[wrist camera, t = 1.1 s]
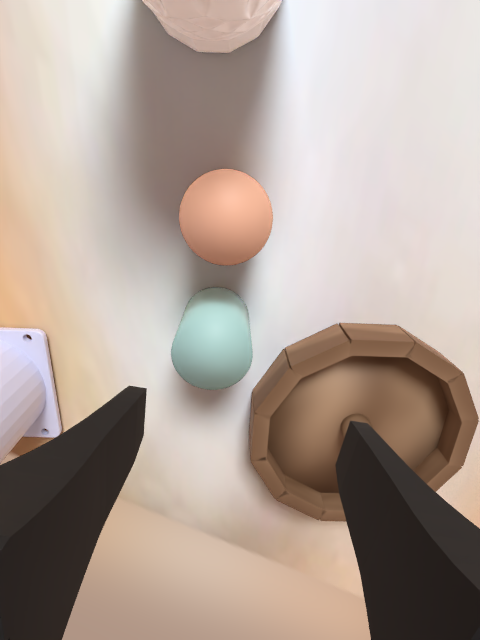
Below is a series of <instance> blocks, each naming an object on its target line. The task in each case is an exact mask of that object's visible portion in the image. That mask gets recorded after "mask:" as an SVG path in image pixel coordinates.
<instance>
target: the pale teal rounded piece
mask: <svg viewBox="0 0 480 640" xmlns="http://www.w3.org/2000/svg"><path fill="white" fill-rule="evenodd" d="M171 356H172V362H173V365H174V367H175V369H176V371H177V372H178V374H179V375H180V376H181V377H182V378H183V379H184V380H185V381H187V382H188V383H190V384H191V385H193V386H196V387H198V388H202V389H207V390H218V389H224V388H227V387H230V386H232V385H234V384H236V383H237V382H238V381H240V380H241V379H242V378H243V377H244V376H245V375H246V373H247V372H248V370H249V368H250V366H251V362H252V343H251V333H250V323H249V314H248V310H247V307H246V305H245V303H244V301H243V300H242V299H241V298H240V297H239V296H238V295H237V294H236V293H234V292H232V291H230V290H228V289H225V288H219V287H213V288H207V289H204V290H202V291H200V292H198V293H197V294H195V295H194V296H193V297H192V298H191V299H190V301H189V302H188V304H187V306H186V309H185V311H184V314H183V317H182V319H181V322H180V325H179V328H178V330H177V333H176V336H175V338H174V341H173V344H172V349H171Z"/></svg>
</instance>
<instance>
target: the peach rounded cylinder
mask: <svg viewBox="0 0 480 640" xmlns="http://www.w3.org/2000/svg"><path fill="white" fill-rule="evenodd" d="M272 222H273V214H272V207H271V203H270V200H269V198H268V196H267V194H266V192H265V190H264V189H263V188H262V186H261V185H260V184H259V183H258V182H257V181H256V180H255V179H253V178H252V177H251V176H249V175H247V174H246V173H243V172H241V171H237V170H234V169H218V170H213V171H210V172H207V173H205V174H203V175H202V176H200V177H199V178H197V179H196V180H195V181H194V182H193V183H192V184H191V185H190V186H189V188H188V189H187V191H186V192H185V194H184V196H183V198H182V201H181V205H180V210H179V223H180V228H181V232H182V235H183V237H184V239H185V241H186V243H187V244H188V246H189V247H190V248H191V249H192V251H193V252H195V253H196V254H197V255H198V256H199V257H201V258H202V259H204V260H206V261H208V262H210V263H213V264H217V265H236V264H239V263H243V262H245V261H247V260H249V259H251V258H252V257H253V256H255V255H256V254H257V253H258V252H259V251H260V250H261V249H262V248H263V246H264V245H265V243H266V242H267V240H268V238H269V235H270V232H271V229H272Z"/></svg>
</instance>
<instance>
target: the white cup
mask: <svg viewBox="0 0 480 640" xmlns="http://www.w3.org/2000/svg"><path fill="white" fill-rule="evenodd" d="M142 1H143V2H144V3H145V4H146V5H147V6H148V7H149V8H150V9H151V10H152V12H153V13H154V14H155V16H156V17H157V19H158V20H159V22H160V23H161V25H162V26H163V28H164V29H165V30H166V32H167V33H168V34H169V35H170V36H172V37H173V38H175V39H177V40H179V41H180V42H182V43H184V44H185V45H187V46H189V47H190V48H192V49H194V50H195V51H197V52H216V53H230V52H232V51H234V50H235V49H237V48H239V47H241V46H243V45H245V44H246V43H248V42H250V41H252V40H254V39H255V38H257V37H259V35H260V34H261V32H262V31H263V29H264V28H265V27H266V25H267V24H268V22H269V21H270V19H271V18H272V17H273V15H274V14H275V12H276V11H277V9H278V8H279V6H280V4H281V2H282V0H142Z"/></svg>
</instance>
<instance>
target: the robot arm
mask: <svg viewBox="0 0 480 640" xmlns="http://www.w3.org/2000/svg"><path fill="white" fill-rule="evenodd" d="M26 334H27V335H30V336H31V338H32V340H31V339H29V338H27V336H26ZM146 390H147V388H140V387H134V386H128V387H127V388H125V389H124V390H123V391H121V392H120V393H119V394H118V395H116V396H115V397H114V398H112V399H111V400H110V401H109V402H107V403H106V404H105V405H103V406H102V407H101V408H99V409H98V410H96V411H95V412H94V413H92V414H91V415H90V416H88V417H87V418H85V419H84V420H83V421H81V422H80V423H78V424H76V425H75V426H73V427H72V428H70V429H69V430H67V431H66V432H64V433H63V434H61V435H60V433H61V432H62V426H61V420H60V414H59V408H58V402H57V396H56V390H55V384H54V378H53V372H52V366H51V360H50V354H49V348H48V342H47V336H46V334H45V332H44V331H42V330H40V329H28V328H0V463H1V462H2V461H3V459H4V458H5V457H6V456H7V455H8V453H9V452H10V451H11V450H12V449H13V447H14V446H15V445H16V444H17V442H18V441H19V440H20V439H21V438H22V437H53V438H54V437H56V438H54V439H53V440H51V441H49V442H47V443H45V444H43V445H42V446H40V447H38V448H36V449H34V450H32V451H30V452H28V453H26V454H24V455H22V456H20V457H17V458H15V459H13V460H11V461H9V462H7V463H4V464H2V465H0V640H62V637H63V634H64V631H65V629H66V626H67V623H68V620H69V617H70V614H71V611H72V608H73V606H74V603H75V600H76V597H77V594H78V592H79V589H80V586H81V583H82V581H83V578H84V575H85V572H86V570H87V567H88V564H89V562H90V559H91V556H92V553H93V551H94V548H95V546H96V543H97V540H98V538H99V535H100V533H101V530H102V528H103V526H104V524H105V521H106V519H107V517H108V515H109V513H110V511H111V509H112V507H113V505H114V503H115V501H116V499H117V497H118V495H119V493H120V491H121V489H122V487H123V485H124V483H125V480H126V478H127V476H128V474H129V472H130V470H131V468H132V466H133V464H134V462H135V459H136V456H137V453H138V450H139V447H140V444H141V441H142V438H143V435H144V421H145V405H146ZM44 429H47V430H48V431H46V430H44ZM335 466H336V474H337V482H338V489H339V495H340V499H341V502H342V506H343V510H344V514H345V517H346V521H347V525H348V528H349V532H350V536H351V539H352V543H353V547H354V550H355V554H356V558H357V562H358V566H359V570H360V575H361V580H362V586H363V592H364V598H365V603H366V609H367V616H368V622H369V629H370V635H371V640H480V529H479V528H478V527H477V526H476V525H474V524H473V523H472V522H470V521H469V520H468V519H467V518H465V517H464V516H463V515H462V514H460V513H459V512H458V511H457V510H456V509H454V508H453V507H452V506H451V505H450V504H448V503H447V502H446V501H445V500H444V499H443V498H441V497H440V496H439V495H438V494H437V493H436V492H435V491H434V490H433V489H432V488H431V487H429V486H428V485H427V484H426V483H425V482H424V481H423V480H422V479H421V478H420V477H419V476H418V475H417V474H416V473H415V472H414V471H413V470H412V469H411V468H410V467H409V466H408V465H407V464H406V463H405V462H404V461H403V460H402V459H401V458H400V457H399V456H398V455H397V454H396V453H395V452H394V450H393V449H392V448H391V447H390V446H389V445H388V444H387V443H386V442H385V441H384V440H383V439H382V438H381V437H380V435H379V434H378V433H377V432H376V431H375V430H374V429H373V428H372V427H371V426H370V425H369V424H368V423H363V422H356V421H350V423H349V426H348V429H347V432H346V435H345V438H344V441H343V444H342V447H341V450H340V453H339V456H338V459H337V462H336V465H335Z"/></svg>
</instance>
